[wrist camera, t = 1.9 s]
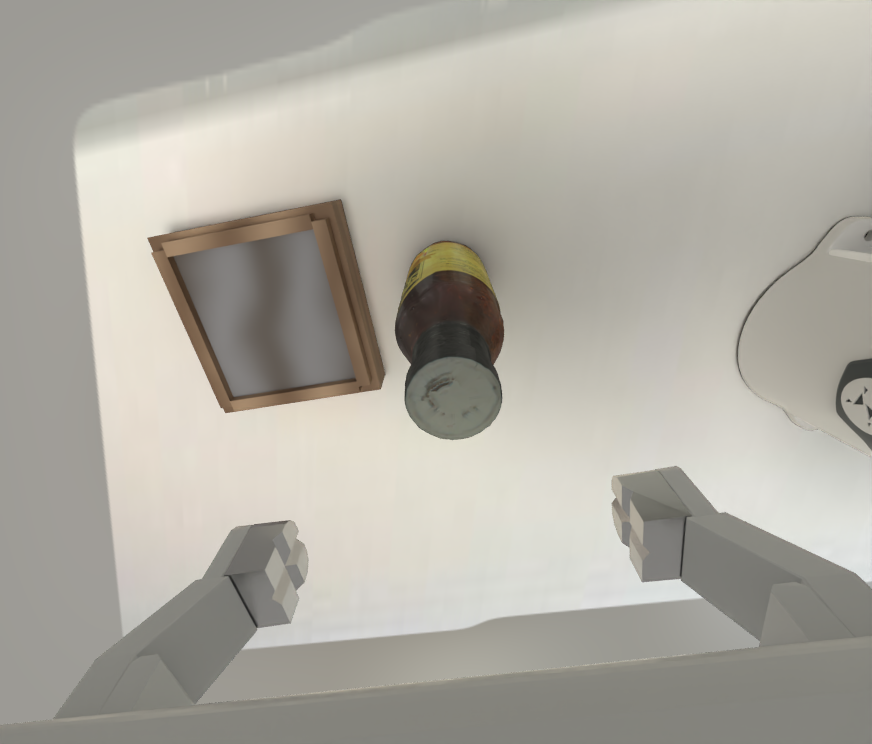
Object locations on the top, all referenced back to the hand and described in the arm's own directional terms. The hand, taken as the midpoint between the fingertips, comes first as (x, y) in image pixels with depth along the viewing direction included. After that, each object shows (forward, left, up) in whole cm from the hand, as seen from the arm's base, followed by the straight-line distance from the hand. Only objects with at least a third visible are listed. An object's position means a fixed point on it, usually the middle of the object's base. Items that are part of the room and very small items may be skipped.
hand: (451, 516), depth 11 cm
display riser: (+14, 0, -27) cm, 30 cm away
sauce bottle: (0, 0, -27) cm, 27 cm away
